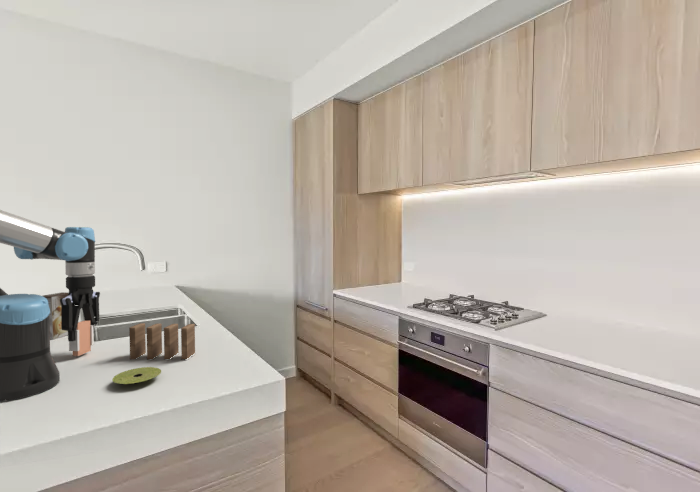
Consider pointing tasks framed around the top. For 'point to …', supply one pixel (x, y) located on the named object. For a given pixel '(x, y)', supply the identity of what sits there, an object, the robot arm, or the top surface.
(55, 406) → the top surface
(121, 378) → the green round flat disc
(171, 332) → the domino
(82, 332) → the domino
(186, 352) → the domino
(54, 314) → the coffee box
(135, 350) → the domino
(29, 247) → the robot arm
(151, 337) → the domino
